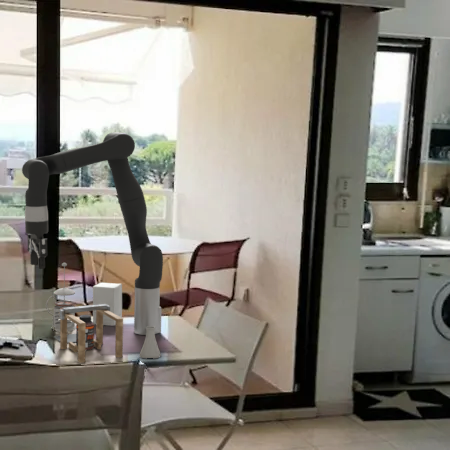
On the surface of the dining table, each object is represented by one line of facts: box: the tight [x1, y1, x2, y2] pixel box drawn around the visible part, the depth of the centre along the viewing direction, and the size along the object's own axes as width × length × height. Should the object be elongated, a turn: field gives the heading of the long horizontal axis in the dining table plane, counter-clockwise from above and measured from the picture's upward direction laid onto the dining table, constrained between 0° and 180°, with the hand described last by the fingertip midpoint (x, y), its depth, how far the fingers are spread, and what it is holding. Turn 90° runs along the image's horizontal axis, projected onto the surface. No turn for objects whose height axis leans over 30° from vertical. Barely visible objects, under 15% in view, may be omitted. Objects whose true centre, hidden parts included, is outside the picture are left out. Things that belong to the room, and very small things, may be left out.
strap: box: [59, 304, 110, 320], centre depth 262 cm, size 17×2×4 cm, turn 121°
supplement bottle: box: [75, 314, 95, 351], centre depth 263 cm, size 6×6×11 cm
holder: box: [59, 309, 124, 364], centre depth 258 cm, size 15×19×13 cm
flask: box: [138, 326, 162, 359], centre depth 256 cm, size 7×7×10 cm
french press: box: [45, 262, 76, 332], centre depth 287 cm, size 10×12×25 cm
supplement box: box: [92, 282, 123, 327], centre depth 298 cm, size 9×9×15 cm
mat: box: [53, 333, 76, 345], centre depth 274 cm, size 10×10×1 cm
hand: (37, 266), depth 261 cm, fingers open, 8 cm apart
